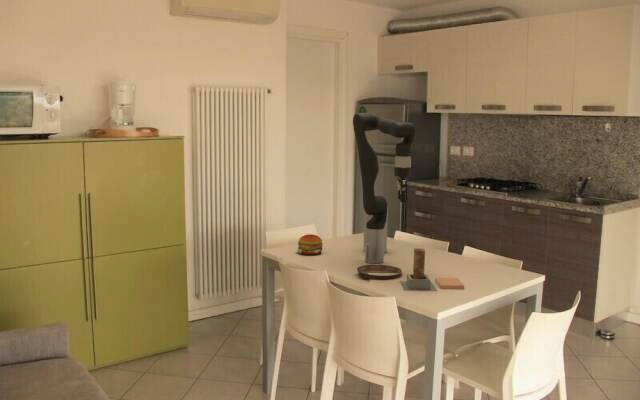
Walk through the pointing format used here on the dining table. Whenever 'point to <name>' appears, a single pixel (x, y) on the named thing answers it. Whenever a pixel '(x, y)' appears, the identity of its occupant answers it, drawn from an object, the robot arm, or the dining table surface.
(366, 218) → the cylinder vase
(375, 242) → the robot arm
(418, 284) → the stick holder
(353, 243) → the dining table surface
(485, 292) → the dining table surface
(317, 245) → the burger
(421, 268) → the wooden stick
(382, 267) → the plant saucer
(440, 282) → the tile
